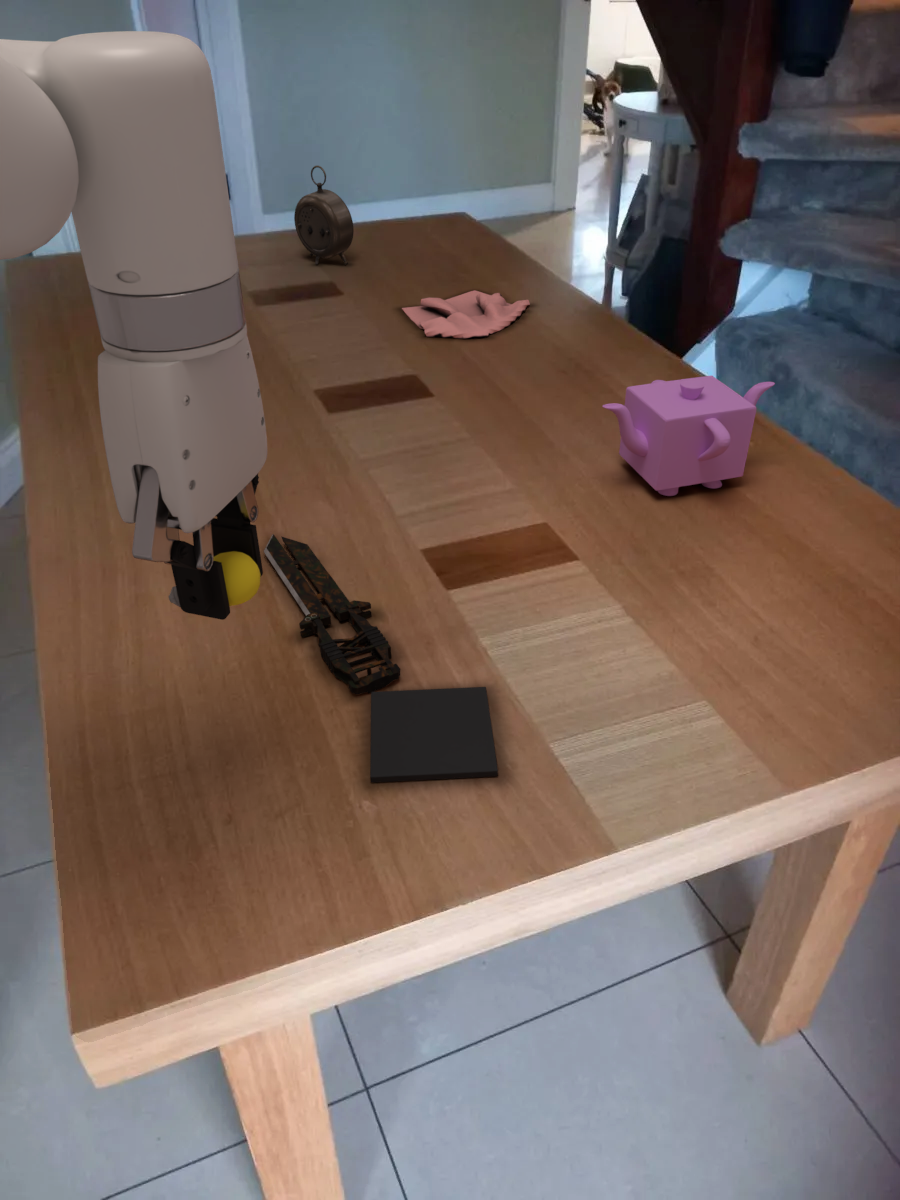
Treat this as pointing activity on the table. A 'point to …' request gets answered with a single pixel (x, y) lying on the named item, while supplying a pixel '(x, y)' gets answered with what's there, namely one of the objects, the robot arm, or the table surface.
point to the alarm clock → (323, 223)
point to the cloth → (465, 315)
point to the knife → (320, 618)
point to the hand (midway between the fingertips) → (223, 591)
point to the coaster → (431, 735)
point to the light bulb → (234, 578)
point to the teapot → (686, 431)
